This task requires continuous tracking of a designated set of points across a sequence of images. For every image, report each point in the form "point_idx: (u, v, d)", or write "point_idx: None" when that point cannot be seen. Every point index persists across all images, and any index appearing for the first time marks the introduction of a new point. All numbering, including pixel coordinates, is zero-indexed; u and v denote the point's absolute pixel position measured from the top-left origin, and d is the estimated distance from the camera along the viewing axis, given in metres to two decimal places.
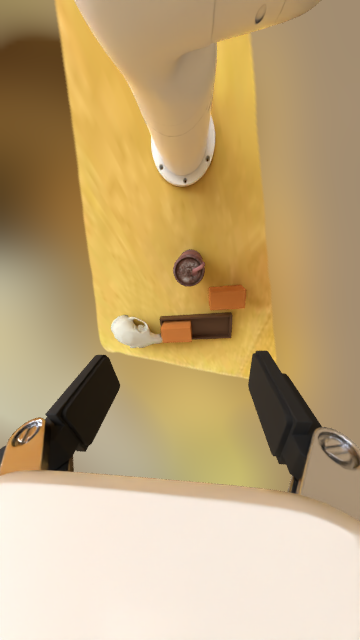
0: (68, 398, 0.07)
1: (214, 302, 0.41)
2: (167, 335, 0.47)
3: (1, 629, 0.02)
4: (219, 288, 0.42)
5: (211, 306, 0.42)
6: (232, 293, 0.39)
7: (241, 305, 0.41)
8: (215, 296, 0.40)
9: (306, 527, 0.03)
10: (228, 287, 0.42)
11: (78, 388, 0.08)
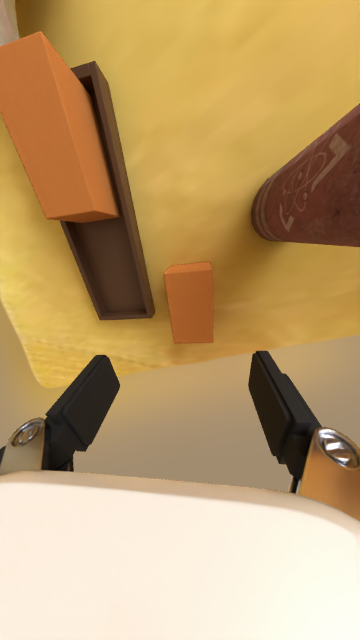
0: (68, 398, 0.07)
1: (185, 283, 0.16)
2: (25, 88, 0.10)
3: (1, 629, 0.02)
4: None
5: (174, 275, 0.16)
6: (208, 320, 0.18)
7: (180, 338, 0.20)
8: (202, 282, 0.16)
9: (306, 527, 0.03)
10: None
11: (78, 388, 0.08)
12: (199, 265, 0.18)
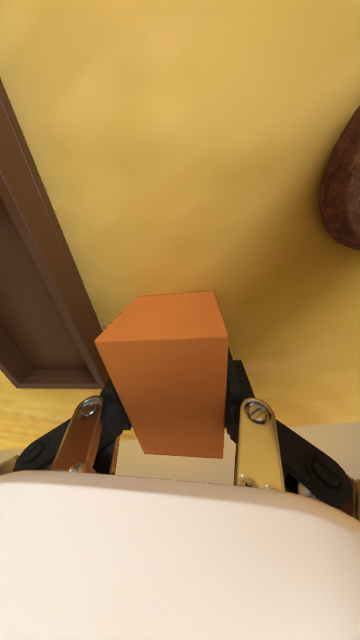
0: None
1: (155, 363, 0.06)
2: None
3: (1, 629, 0.02)
4: None
5: (122, 346, 0.06)
6: (214, 429, 0.08)
7: (154, 448, 0.09)
8: (198, 363, 0.06)
9: (306, 527, 0.03)
10: None
11: None
12: (192, 305, 0.08)
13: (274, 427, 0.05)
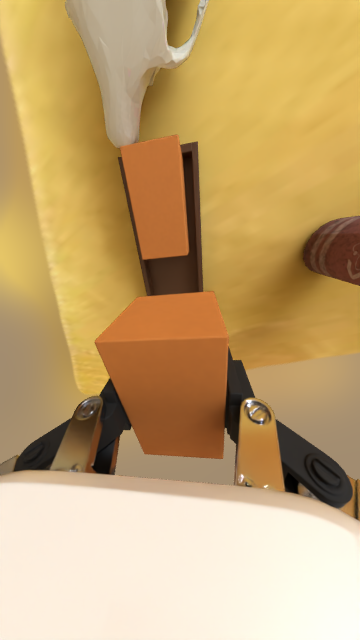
0: None
1: (155, 363, 0.06)
2: (154, 169, 0.13)
3: (1, 629, 0.02)
4: None
5: (123, 346, 0.06)
6: (214, 429, 0.08)
7: (154, 448, 0.09)
8: (199, 364, 0.06)
9: (306, 527, 0.03)
10: None
11: None
12: (192, 305, 0.08)
13: (274, 427, 0.05)
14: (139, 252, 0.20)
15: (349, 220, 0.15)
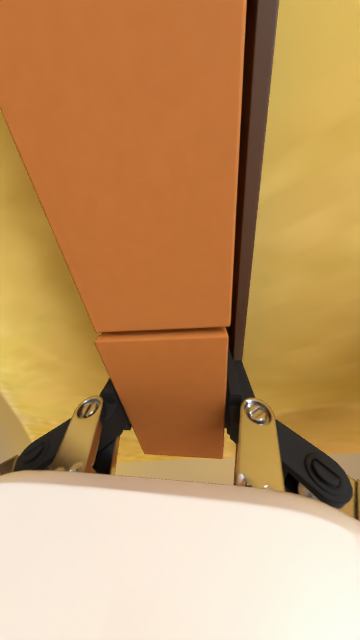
0: None
1: (155, 363, 0.06)
2: None
3: (1, 629, 0.02)
4: None
5: (123, 346, 0.06)
6: (214, 429, 0.08)
7: (154, 448, 0.09)
8: (198, 364, 0.06)
9: (306, 527, 0.03)
10: None
11: None
12: None
13: (274, 427, 0.05)
14: None
15: None
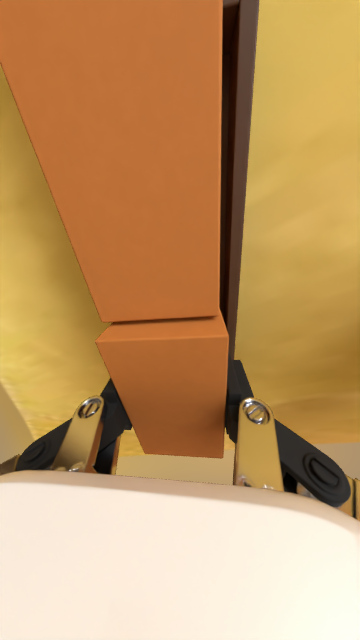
0: None
1: (155, 363, 0.06)
2: None
3: (1, 629, 0.02)
4: None
5: (123, 346, 0.06)
6: (214, 429, 0.08)
7: (154, 448, 0.09)
8: (199, 363, 0.06)
9: (306, 527, 0.03)
10: None
11: None
12: None
13: (273, 427, 0.05)
14: None
15: None
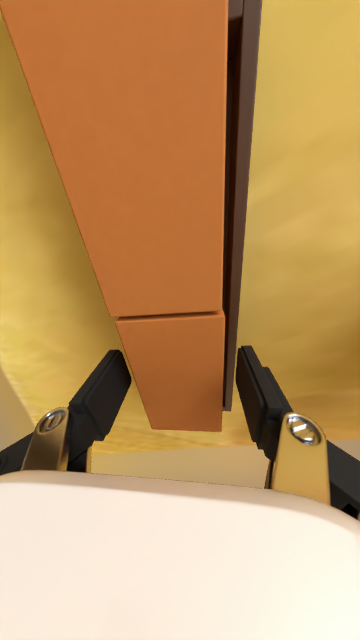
0: (88, 389, 0.07)
1: (165, 341, 0.07)
2: (119, 20, 0.03)
3: (1, 629, 0.02)
4: None
5: (138, 326, 0.07)
6: (213, 402, 0.09)
7: (161, 423, 0.11)
8: (201, 341, 0.07)
9: (306, 527, 0.03)
10: None
11: (96, 380, 0.08)
12: None
13: (324, 452, 0.05)
14: None
15: None
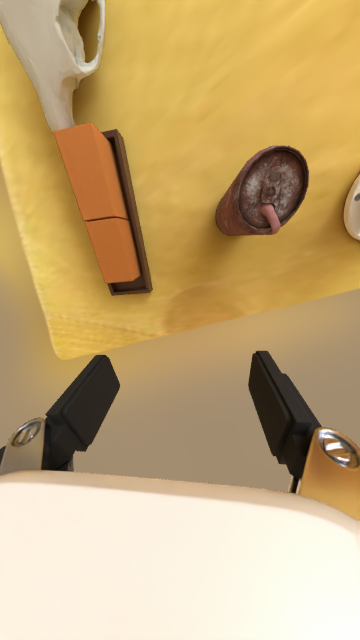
0: (68, 398, 0.07)
1: (101, 229, 0.23)
2: (79, 148, 0.19)
3: (1, 629, 0.02)
4: (130, 239, 0.26)
5: (92, 223, 0.22)
6: (124, 260, 0.24)
7: (108, 277, 0.26)
8: (112, 228, 0.22)
9: (306, 527, 0.03)
10: (134, 254, 0.27)
11: (78, 388, 0.08)
12: None
13: None
14: None
15: None
